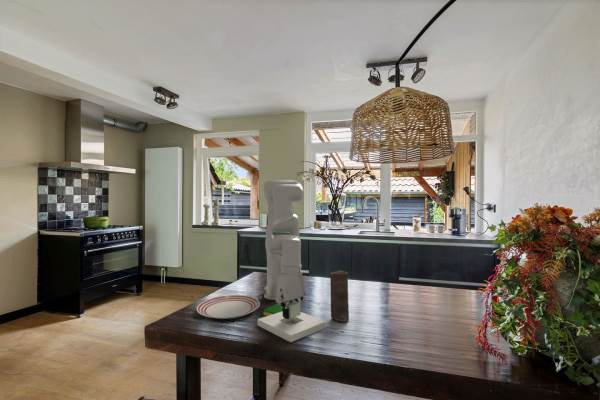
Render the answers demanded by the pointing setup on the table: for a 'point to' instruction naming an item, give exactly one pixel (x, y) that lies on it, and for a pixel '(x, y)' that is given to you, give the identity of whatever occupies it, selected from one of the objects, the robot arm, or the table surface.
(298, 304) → the plug
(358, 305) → the table surface
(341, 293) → the candle
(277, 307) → the dish sponge
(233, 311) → the dinner plate
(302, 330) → the socket
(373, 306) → the table surface
